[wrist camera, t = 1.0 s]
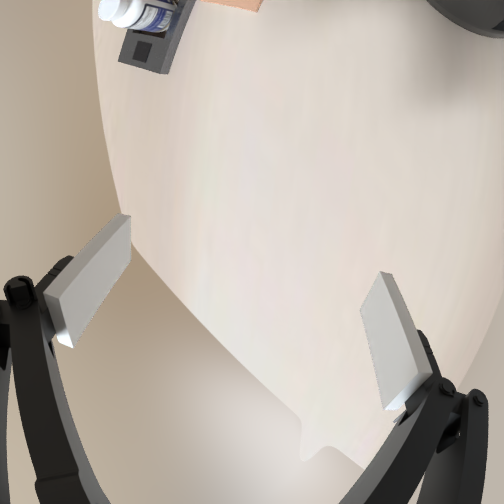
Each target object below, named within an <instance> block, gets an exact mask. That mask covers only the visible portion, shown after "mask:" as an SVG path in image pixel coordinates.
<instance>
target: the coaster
mask: <svg viewBox="0 0 504 504" xmlns="http://www.w3.org/2000/svg"><path fill="white" fill-rule="evenodd" d="M200 1H204V2H210V3H216V4H221V5H226V6H231V7H236V8H240V9H245V10H249V11H253V12H257V11H258V9H259V7H260V5H261V3H262V1H263V0H200Z"/></svg>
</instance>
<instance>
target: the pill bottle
mask: <svg viewBox="0 0 504 504" xmlns="http://www.w3.org/2000/svg"><path fill="white" fill-rule="evenodd" d="M176 7H177V5H176V3H175V2H174V1H173V0H102V1H101V3H100V5H99V9H98V15H99V17H100V19H102V20H106V21H112V22H113V24H114V25H115V26H117V27H121V28H129V29H137V30H143V31H150V32H163V31H165V30H167V29H168V27H169V25H170V22H171V19H172V17H173V14H174V12H175V9H176Z"/></svg>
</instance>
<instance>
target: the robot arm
mask: <svg viewBox="0 0 504 504" xmlns="http://www.w3.org/2000/svg"><path fill="white" fill-rule="evenodd" d="M427 1H428V2H429V3H430V4H431V5H432V6H433V7H434V8H435V9H436V10H437V11H439V12H440V13H441V14H442V15H444V16H445V17H446V18H448V19H449V20H451V21H452V22H454V23H456V24H457V25H459V26H461V27H463V28H465V29H467V30H469V31H471V32H474V33H476V34H479V35H482V36H486V37H491V38H504V0H427ZM130 261H131V216H129V215H124V214H119V213H118V214H117V215H116V216H115V217H114V218H113V219H112V220H110V221H109V222H108V223H107V224H106V225H105V226H104V227H103V228H102V229H101V231H99V232H98V234H96V235H95V236H94V237H93V238H92V240H90V242H88V243H87V245H86V246H85V247H84V248H83V249H82V250H81V251H80V252H79V253H78V254H77V255H76V256H75V257H72V256H66V257H65V258H63V259H61V260H59V261H58V262H57V263H56V264H55V265H54V267H53V269H51V270H50V271H49V272H48V274H46V275H45V276H44V277H43V278H42V280H41V281H40V282H39V283H38V284H37V285H36V286H35V287H34V285H33V282H32V279H30V278H29V277H27V276H17V277H14V278H12V279H11V280H9V281H8V282H7V283H6V284H5V286H4V289H3V290H4V293H5V296H6V299H7V300H0V504H10V494H9V483H8V471H7V450H6V429H7V405H8V392H9V381H10V373H11V365H13V374H14V381H15V388H16V395H17V400H18V406H19V411H20V416H21V421H22V426H23V430H24V434H25V438H26V442H27V446H28V449H29V453H30V457H31V460H32V463H33V466H34V470H35V473H36V477H37V480H36V482H35V490H36V493H37V496H38V499H39V502H40V504H111V503H110V502H109V500H108V498H107V497H106V495H105V494H104V493H103V491H102V489H101V487H100V485H99V483H98V481H97V479H96V477H95V475H94V473H93V470H92V468H91V466H90V463H89V461H88V458H87V456H86V454H85V451H84V449H83V446H82V443H81V441H80V438H79V435H78V433H77V430H76V427H75V424H74V421H73V418H72V415H71V412H70V409H69V405H68V402H67V399H66V395H65V392H64V388H63V385H62V381H61V377H60V373H59V369H58V364H57V360H56V356H55V351H54V346H53V342H52V340H51V339H52V338H53V336H54V335H55V333H56V335H57V338H58V341H59V342H60V343H62V344H64V345H67V346H69V347H72V348H74V346H75V345H76V343H77V341H78V340H79V338H80V336H81V335H82V333H83V332H84V330H85V328H86V327H87V325H88V324H89V322H90V320H91V319H92V317H93V316H94V314H95V313H96V311H97V310H98V308H99V306H100V305H101V303H102V302H103V300H104V299H105V297H106V296H107V294H108V293H109V291H110V290H111V288H112V287H113V286H114V284H115V283H116V281H117V280H118V278H119V277H120V275H121V274H122V272H123V271H124V270H125V268H126V267H127V265H128V264H129V262H130ZM360 313H361V317H362V320H363V324H364V328H365V332H366V336H367V340H368V344H369V348H370V352H371V356H372V360H373V364H374V369H375V373H376V378H377V382H378V387H379V392H380V397H381V402H382V407H383V410H398V409H399V408H400V407H401V406H402V405H403V404H404V403H405V406H406V410H405V411H404V412H403V413H402V414H401V415H400V416H399V417H397V418H396V419H395V420H394V421H393V422H394V423H395V422H397V423H396V425H395V426H394V428H393V430H392V431H391V433H390V434H389V436H388V438H387V439H386V441H385V442H384V444H383V445H382V447H381V448H380V450H379V451H378V453H377V454H376V456H375V457H374V458H373V460H372V461H371V463H370V464H369V465H368V467H367V468H366V470H365V471H364V472H363V474H362V475H361V476H360V478H359V479H358V480H357V482H356V483H355V484H354V485H353V487H352V488H351V489H350V490H349V492H348V493H347V494H346V495H345V497H344V498H343V499H342V500H341V501H340V503H339V504H408V502H409V500H410V498H411V497H412V495H413V493H414V491H415V490H416V488H417V486H418V484H419V482H420V481H421V479H422V477H423V475H424V473H425V476H424V479H423V483H422V487H421V491H420V494H419V497H418V501H417V504H481V500H482V493H483V487H484V480H485V471H486V461H487V448H488V400H487V398H486V396H485V394H484V393H483V392H481V391H480V390H478V389H473V390H471V391H470V392H469V393H468V394H467V395H465V394H462V393H459V392H456V388H455V386H454V385H453V383H452V382H451V381H450V380H448V379H446V378H444V377H442V376H441V373H440V370H439V367H438V365H437V362H436V360H435V357H434V355H433V352H432V349H431V348H430V345H429V342H428V340H427V338H426V336H425V335H424V334H423V333H422V331H421V330H416V327H415V325H414V323H413V320H412V318H411V316H410V313H409V311H408V309H407V306H406V304H405V302H404V300H403V297H402V295H401V293H400V291H399V289H398V286H397V284H396V282H395V280H394V278H393V276H392V274H389V273H385V272H381V271H380V272H379V274H378V276H377V278H376V280H375V282H374V284H373V286H372V288H371V290H370V291H369V293H368V295H367V297H366V299H365V301H364V303H363V305H362V306H361V308H360ZM459 433H460V435H459ZM425 471H426V472H425Z"/></svg>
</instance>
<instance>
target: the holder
mask: <svg viewBox="0 0 504 504" xmlns="http://www.w3.org/2000/svg"><path fill="white" fill-rule="evenodd" d="M195 1H196V0H179V2H178V5H177V7H176V9H175V12H174V14H173V17H172V19H171V22H170V25H169V27H168V30H167V33H166V35H165V38H160V37H155V36H150V35H145V34H140V33H141V30H137V29H129V28H128V30H127V33H126V36H125V39H124V42H123V45H122V49H121V52H120V55H119V59H118V62H122V63H125V64H129V65H132V66H136V67H139V68H143V69H146V70H149V71H152V72H156V73H159V74H168V72H169V69H170V66H171V63H172V61H173V58H174V55H175V52H176V49H177V46H178V44H179V41H180V38H181V36H182V33H183V30H184V28H185V25H186V23H187V20H188V18H189V15H190V13H191V10H192V8H193V6H194V3H195Z"/></svg>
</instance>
